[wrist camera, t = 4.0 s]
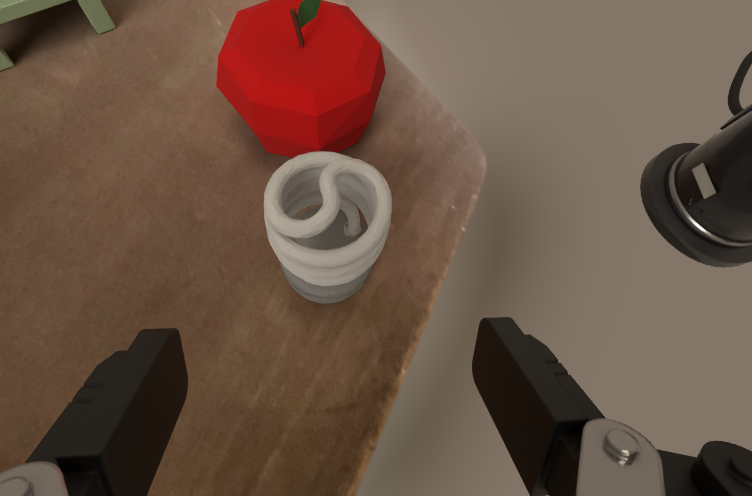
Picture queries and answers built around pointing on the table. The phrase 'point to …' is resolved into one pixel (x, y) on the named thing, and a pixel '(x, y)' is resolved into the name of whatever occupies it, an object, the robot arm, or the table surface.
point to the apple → (301, 74)
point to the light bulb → (327, 223)
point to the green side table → (7, 3)
